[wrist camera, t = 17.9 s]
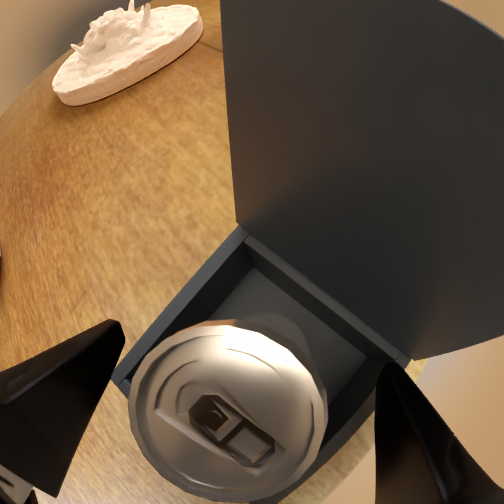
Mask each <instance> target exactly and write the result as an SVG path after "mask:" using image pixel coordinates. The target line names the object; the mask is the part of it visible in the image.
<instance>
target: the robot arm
mask: <svg viewBox="0 0 504 504" xmlns="http://www.w3.org/2000/svg"><path fill="white" fill-rule="evenodd" d="M124 344H125V335H124V333H123V330H122V327H121V324H120V322H119V321H116V320H113V319H108V320H106V321H104V322H102V323H100V324H98V325H96V326H94V327H92V328H90V329H88V330H86V331H84V332H82V333H80V334H78V335H76V336H74V337H72V338H70V339H68V340H66V341H64V342H62V343H60V344H58V345H56V346H54V347H52V348H50V349H48V350H46V351H44V352H42V353H40V354H38V355H36V356H34V357H33V358H30V359H28V360H26V361H24V362H22V363H20V364H18V365H16V366H13V367H11V368H9V369H6V370H4V371H1V372H0V504H38V501H37V497H36V494H35V491H34V490H33V489H32V488H33V487H36V488H38V489H40V490H41V491H43V492H45V493H47V494H49V495H51V496H53V497H55V498H57V496H58V494H59V491H60V489H61V486H62V484H63V481H64V479H65V476H66V474H67V471H68V469H69V466H70V464H71V462H72V459H73V457H74V454H75V452H76V450H77V447H78V445H79V443H80V441H81V439H82V436H83V434H84V432H85V430H86V428H87V425H88V423H89V421H90V419H91V417H92V415H93V413H94V411H95V409H96V407H97V405H98V403H99V401H100V399H101V397H102V395H103V393H104V391H105V389H106V387H107V385H108V383H109V381H110V379H111V377H112V374H113V372H114V369H115V367H116V364H117V362H118V359H119V357H120V354H121V352H122V349H123V347H124ZM374 430H375V451H376V452H375V454H376V493H375V495H376V496H375V504H504V489H502V488H501V487H499V486H498V485H497V484H496V483H495V482H494V481H493V480H492V479H491V478H490V477H489V476H488V475H487V474H486V473H485V471H484V470H483V469H482V468H481V467H480V466H479V465H478V464H477V463H476V461H475V460H474V459H473V458H472V457H471V456H470V454H469V453H468V452H467V451H466V449H465V448H464V447H463V445H462V444H461V443H460V441H459V440H458V439H457V437H456V436H454V433H453V432H452V431H451V429H450V428H449V427H448V425H447V424H446V423H445V422H444V420H443V419H442V417H441V416H440V415H439V414H438V412H437V411H436V410H435V408H434V407H433V406H432V404H431V403H430V402H429V401H428V399H427V398H426V397H425V396H424V394H423V393H422V392H421V390H420V389H419V388H418V387H417V385H416V384H415V383H414V382H413V380H412V379H411V378H410V377H409V375H408V374H407V373H406V372H405V370H404V369H403V368H402V367H401V366H400V364H399V363H398V362H385V363H384V365H383V367H382V369H381V371H380V373H379V374H378V376H377V379H376V390H375V417H374Z"/></svg>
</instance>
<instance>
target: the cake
mask: <svg viewBox="0 0 504 504" xmlns="http://www.w3.org/2000/svg"><path fill="white" fill-rule="evenodd" d="M90 27H91V28H90V30H89V31H88V32H87V33H86V35H85V37H84V45H82V46H81V47H78V46H77V45H74V44H71V47H72V48H73V49H75V50H76V51H75V52H74V53H73V54H72V55H71V56H70V57H69V58H68V59H67V60H66V61H65V62H64V64H63V65H62V66H61V68H60V69H59V71H58V73H57V74H56V75H55V77H54V80H53V83H52V86H53V90H54V92H56V94H57V95H58V97H59V98H60V100H61V101H62V102H63V103H64V104H66V105H70V106H77V105H83V104H87V103H91V102H94V101H97V100H99V99H102V98H104V97H107V96H109V95H111V94H114V93H116V92H118V91H120V90H122V89H124V88H126V87H128V86H130V85H132V84H134V83H136V82H138V81H140V80H142V79H143V78H145V77H147V76H149V75H151V74H152V73H154V72H156V71H157V70H159V69H161V68H162V67H164V66H165V65H167V64H169V63H170V62H172V61H173V60H174V59H176V58H177V57H179V56H180V55H181V54H183V53H184V52H185V51H187V50H188V49H189V48H190V47H191V46H192V45H193V44H194V43H195V42H196V41H197V40H198V39H199V37H200V36H201V34H202V32H203V24H202V19H201V17H200V15H199V12H198V10H197V8H194V7H191V6H189V5H171V6H169V7H165V8H164V7H159V8H155V9H151V10H150V5H149V3H147V4H146V6H145V9H144V7H143V5H142V7H141V11H139V12H138V13H136V11H134V0H130V4H129V8H128V11H126V12H124V10H123V9H122V8H118V9H117V10H110V11H107V12H105V13H104V15H103V16H102V17H101V16H100V17H99V19H97V20H96V21H92V22H91V23H90Z"/></svg>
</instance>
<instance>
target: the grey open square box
mask: <svg viewBox="0 0 504 504" xmlns="http://www.w3.org/2000/svg"><path fill="white" fill-rule="evenodd" d="M229 319H237V320H241V321H245V322H250V323H254V324H258V325H263V326H266V327H268V328H270V329H271V330H273V331H275V332H277V333H278V334H280V335H282V336H284V337H286V338H287V339H289V340H291V341H293V342H294V343H295V344H296V345H297V346H298V348H299V349H300V350H301V351H302V352H303V353H304V354H305V355H306V356H307V357H308V358H309V359H310V360H311V362H312V363H313V364H314V365H315V367H316V369H317V372H318V374H319V376H320V378H321V381H322V383H323V385H324V387H325V390H326V393H327V408H328V423H327V426H326V429H325V433H324V436H323V439H322V442H321V445H320V448H319V451H318V454H317V457H316V459H315V460H314V462H313V463H312V464H311V465H310V467H309V468H308V469H307V470H306V471H305V473H304V474H303V475H302V476H301V477H300V479H299V480H298V481H297V482H295V483H293V484H292V485H290V486H289V487H287V488H285V489H284V490H282V491H280V492H279V493H277V494H275V495H273V496H270V497H266V498H262V499H258V500H254V501H250V502H249V503H250V504H277V503H278V502H280V501H281V500H282V499H284V498H285V497H286V496H288V495H289V494H290V493H291V492H293V491H294V490H295V489H296V488H297V487H299V486H300V485H301V484H302V483H303V482H305V481H306V480H307V479H308V478H309V477H310V476H312V475H313V474H314V473H315V472H316V471H317V470H318V469H319V468H320V467H322V466H323V465H324V464H325V463H326V462H327V461H328V460H329V459H330V458H331V457H332V456H333V455H334V454H335V453H336V452H337V451H338V450H339V449H340V448H341V447H342V446H343V445H344V444H345V443H346V442H347V441H348V440H349V439H350V438H351V436H352V435H353V434H354V433H355V432H356V431H357V430H358V429H359V428H360V426H361V425H362V424H363V423H364V422H365V421H366V420H367V418H368V417H369V416H370V415H371V414H372V412H373V411H374V410H375V390H376V379H377V376H378V374H379V373H380V371H381V369H382V367H383V365H384V363H385V362H398V363H399V364H400V366H401V367H402V368H403V369H404V370H405V368H406V367H407V365H408V364H409V362H410V361H411V359H412V358H410V357H409V356H408V355H407V354H405V353H404V352H403V351H402V350H400V349H399V348H398V347H397V346H395V345H394V344H393V343H392V342H390V341H389V340H388V339H387V338H385V337H384V336H383V335H382V334H380V333H379V332H378V331H377V330H375V329H374V328H373V327H372V326H370V325H369V324H368V323H366V322H365V321H364V320H363V319H361V318H360V317H359V316H358V315H356V314H355V313H354V312H352V311H351V310H350V309H349V308H347V307H346V306H345V305H344V304H342V303H341V302H340V301H338V300H337V299H336V298H335V297H333V296H332V295H331V294H329V293H328V292H327V291H326V290H324V289H323V288H322V287H320V286H319V285H318V284H317V283H315V282H314V281H313V280H311V279H310V278H309V277H307V276H306V275H305V274H304V273H302V272H301V271H300V270H298V269H297V268H296V267H294V266H293V265H292V264H291V263H289V262H288V261H287V260H285V259H284V258H283V257H281V256H280V255H279V254H277V253H276V252H275V251H274V250H272V249H271V248H270V247H268V246H267V245H266V244H264V243H263V242H262V241H260V240H259V239H258V238H256V237H255V236H254V235H252V234H251V233H250V232H248V231H247V230H246V229H244V228H243V227H242V226H240V225H238V226H237V228H236V229H235V230H234V231H233V232H232V233H231V234H230V235H229V236H228V238H227V239H226V240H225V241H224V242H223V243H222V244H221V245H220V246H219V248H218V249H217V250H216V251H215V252H214V253H213V254H212V255H211V257H210V258H209V259H208V260H207V261H206V262H205V263H204V264H203V266H202V267H201V268H200V269H199V270H198V271H197V272H196V274H195V275H194V276H193V277H192V278H191V279H190V280H189V282H188V283H187V284H186V285H185V286H184V287H183V288H182V290H181V291H180V292H179V293H178V294H177V295H176V297H175V298H174V299H173V300H172V301H171V302H170V304H169V305H168V306H167V307H166V308H165V309H164V311H163V312H162V313H161V314H160V315H159V316H158V318H157V319H156V320H155V321H154V322H153V324H152V325H151V326H150V327H149V328H148V330H147V331H146V332H145V333H144V334H143V335H142V337H141V338H140V339H139V340H138V341H137V343H136V344H135V345H134V346H133V348H132V349H131V350H130V351H129V352H128V354H127V355H126V356H125V357H124V358H123V360H122V361H121V362H120V363H119V365H118V366H117V367H116V368H115V370H114V372H113V374H112V377H111V380H112V381H113V383H114V384H115V385H116V386H117V387H118V388H119V389H120V391H121V392H122V393H123V394H124V395H125V396H126V398H127V399H128V400H129V394H130V389H131V384H132V379H133V377H134V375H135V373H136V372H137V370H138V368H139V366H140V365H141V363H142V361H143V360H144V358H145V356H146V355H147V354H148V353H150V352H151V351H152V350H153V349H154V348H155V347H157V346H158V345H159V344H160V343H161V342H163V341H164V340H165V339H166V338H168V337H170V336H173V335H174V334H176V333H177V332H178V331H181V330H184V329H186V328H189V327H191V326H194V325H196V324H199V323H201V322H204V321H215V320H229Z"/></svg>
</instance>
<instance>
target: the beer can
mask: <svg viewBox="0 0 504 504" xmlns="http://www.w3.org/2000/svg"><path fill="white" fill-rule="evenodd" d="M128 411H129V418H130V425H131V431H132V433H133V435H134V437H135V440H136V442H137V444H138V446H139V448H140V450H141V452H142V454H143V456H144V457H145V458H146V459H147V460H148V462H149V463H150V464H151V465H152V466H153V467H154V468H155V470H156V471H157V472H158V473H159V474H160V475H161V476H162V477H163V478H165V479H166V480H168V481H169V482H171V483H172V484H174V485H175V486H177V487H179V488H180V489H182V490H183V491H185V492H187V493H190V494H193V495H196V496H199V497H202V498H205V499H208V500H211V501H216V502H235V503H245V502H250V501H254V500H258V499H262V498H266V497H270V496H273V495H275V494H277V493H279V492H280V491H282V490H284V489H285V488H287V487H289V486H290V485H292V484H293V483H295V482H297V481H298V480H299V479H300V477H301V476H302V475H303V474H304V473H305V471H306V470H307V469H308V468H309V467H310V465H311V464H312V463H313V462H314V460H315V459H316V457H317V454H318V451H319V448H320V445H321V442H322V439H323V436H324V433H325V429H326V426H327V423H328V408H327V393H326V390H325V387H324V385H323V383H322V381H321V378H320V376H319V374H318V372H317V369H316V367H315V365H314V364H313V363H312V362H311V360H310V359H309V358H308V357H307V356H306V355H305V354H304V353H303V352H302V351H301V350H300V349H299V348H298V346H297V345H296V344H295V343H294V342H293V341H291V340H289V339H287V338H286V337H284V336H282V335H280V334H278V333H277V332H275V331H273V330H271V329H270V328H268V327H266V326H263V325H258V324H254V323H250V322H245V321H241V320H237V319H229V320H215V321H204V322H201V323H199V324H196V325H194V326H191V327H189V328H186V329H184V330H181V331H178V332H177V333H176V334H174V335H173V336H170V337H168V338H166V339H165V340H164V341H163V342H161V343H160V344H159V345H158V346H157V347H155V348H154V349H153V350H152V351H151V352H150V353H148V354H147V355H146V356H145V358H144V360H143V361H142V363H141V365H140V366H139V368H138V370H137V372H136V373H135V375H134V377H133V379H132V384H131V389H130V394H129V400H128Z"/></svg>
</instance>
